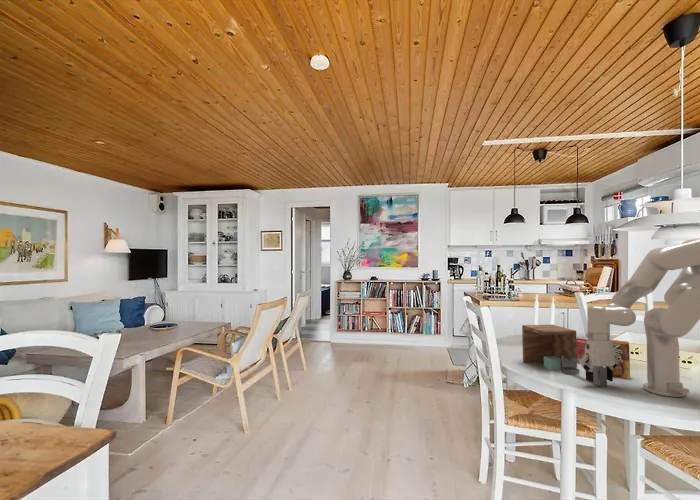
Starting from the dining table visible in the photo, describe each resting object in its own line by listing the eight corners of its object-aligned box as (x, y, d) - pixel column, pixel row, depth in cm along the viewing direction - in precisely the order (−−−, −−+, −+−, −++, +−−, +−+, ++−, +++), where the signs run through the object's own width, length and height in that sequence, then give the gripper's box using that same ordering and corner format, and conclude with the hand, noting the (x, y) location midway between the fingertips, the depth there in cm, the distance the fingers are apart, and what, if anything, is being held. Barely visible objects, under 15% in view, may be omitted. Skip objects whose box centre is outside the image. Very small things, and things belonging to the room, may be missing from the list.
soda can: (587, 360, 187) (587, 336, 187) (595, 364, 180) (595, 339, 180) (572, 360, 187) (572, 336, 188) (579, 364, 180) (579, 339, 181)
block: (560, 369, 171) (560, 358, 171) (550, 370, 170) (550, 359, 171) (553, 366, 176) (553, 356, 176) (543, 367, 175) (543, 356, 176)
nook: (576, 370, 169) (576, 330, 170) (544, 372, 167) (543, 331, 168) (552, 361, 186) (552, 324, 186) (522, 362, 184) (522, 325, 184)
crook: (610, 387, 148) (610, 367, 148) (596, 387, 147) (596, 368, 147) (574, 372, 168) (573, 355, 168) (561, 372, 167) (561, 355, 167)
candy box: (630, 376, 161) (629, 341, 161) (630, 379, 157) (629, 343, 157) (605, 373, 166) (604, 338, 166) (604, 375, 162) (604, 340, 163)
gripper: (585, 338, 145) (586, 384, 145) (626, 338, 147) (626, 383, 147) (572, 335, 153) (572, 378, 152) (610, 334, 155) (611, 377, 154)
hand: (599, 380), depth 149 cm, fingers open, 7 cm apart
